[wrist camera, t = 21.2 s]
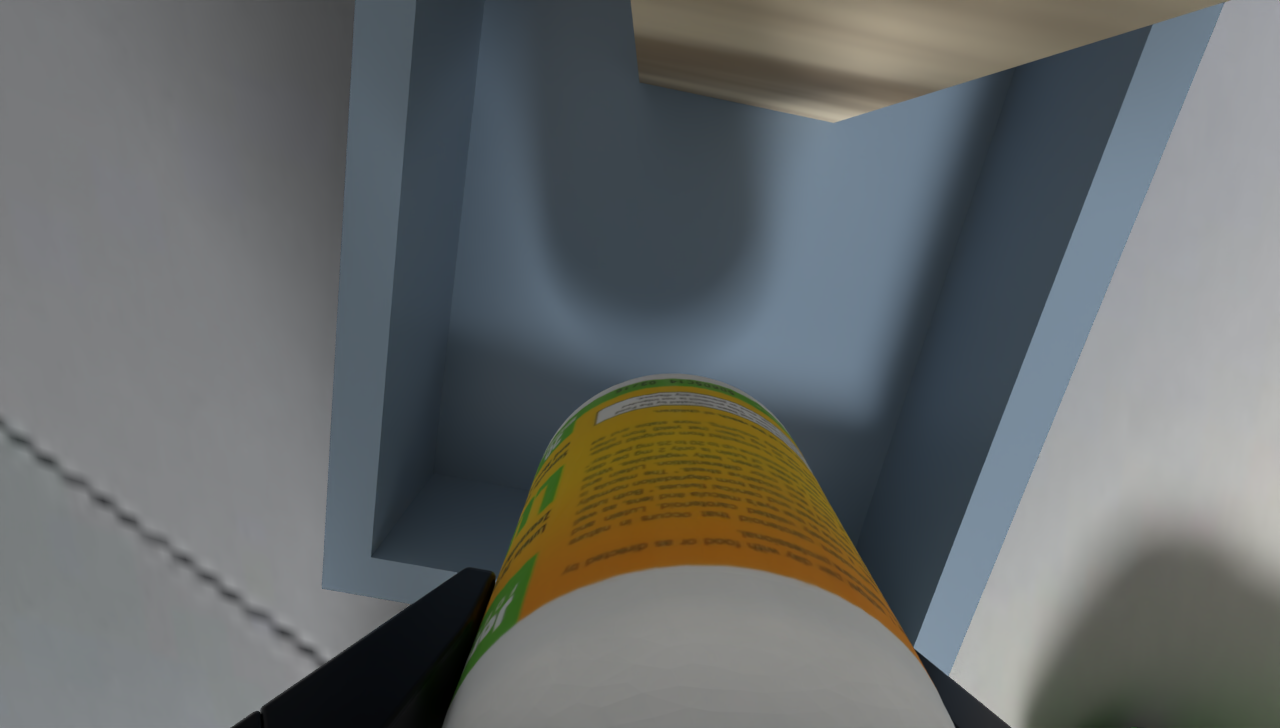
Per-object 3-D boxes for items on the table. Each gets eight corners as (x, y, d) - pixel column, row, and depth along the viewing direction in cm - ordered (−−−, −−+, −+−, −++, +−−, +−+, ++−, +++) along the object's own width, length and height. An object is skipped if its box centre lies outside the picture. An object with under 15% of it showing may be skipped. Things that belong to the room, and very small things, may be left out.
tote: (867, 565, 19) (940, 695, 14) (407, 482, 18) (321, 588, 14) (1102, -123, 14) (1340, -282, 9) (479, -266, 13) (384, -514, 9)
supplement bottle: (536, 360, 12) (138, 1006, 3) (819, 372, 12) (1447, 1055, 3) (537, 603, 13) (290, 1567, 4) (788, 612, 13) (1119, 1598, 4)
